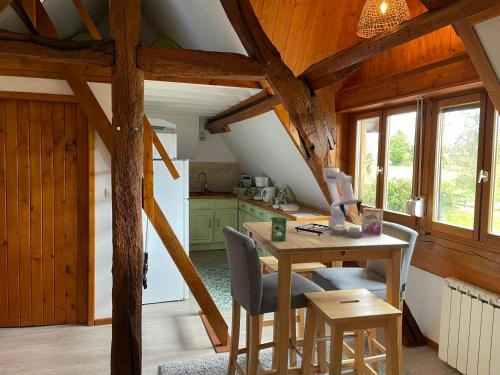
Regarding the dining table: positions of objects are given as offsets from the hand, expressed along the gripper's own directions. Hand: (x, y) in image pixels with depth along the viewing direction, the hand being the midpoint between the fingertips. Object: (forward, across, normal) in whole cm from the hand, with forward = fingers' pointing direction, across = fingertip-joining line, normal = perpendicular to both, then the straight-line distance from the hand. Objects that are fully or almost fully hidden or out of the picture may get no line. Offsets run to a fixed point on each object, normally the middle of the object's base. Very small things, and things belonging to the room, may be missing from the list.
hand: (352, 216), depth 226 cm
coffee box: (+13, -43, -11) cm, 46 cm away
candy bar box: (+9, +10, +14) cm, 20 cm away
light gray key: (+10, -1, +1) cm, 10 cm away
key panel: (+11, -5, +5) cm, 13 cm away
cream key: (+6, -8, +5) cm, 11 cm away
